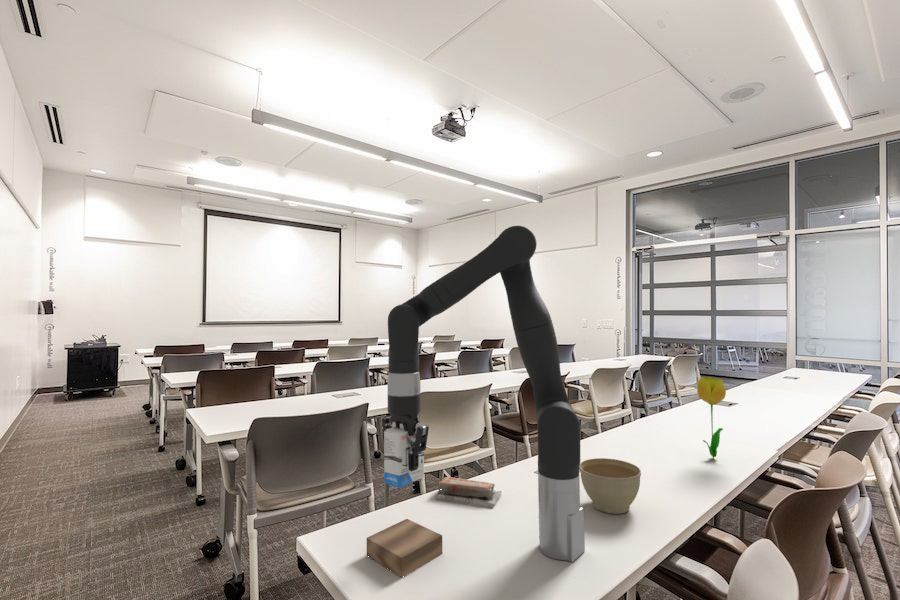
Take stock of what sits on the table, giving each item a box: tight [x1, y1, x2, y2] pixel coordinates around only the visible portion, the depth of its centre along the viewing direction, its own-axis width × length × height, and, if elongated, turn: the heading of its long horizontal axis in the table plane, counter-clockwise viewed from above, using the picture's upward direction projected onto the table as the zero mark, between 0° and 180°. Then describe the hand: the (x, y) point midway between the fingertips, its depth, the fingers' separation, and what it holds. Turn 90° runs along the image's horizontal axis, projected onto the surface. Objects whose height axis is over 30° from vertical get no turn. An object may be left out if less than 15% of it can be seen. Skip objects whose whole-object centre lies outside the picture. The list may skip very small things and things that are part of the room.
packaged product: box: [434, 476, 502, 509], centre depth 125 cm, size 18×5×10 cm
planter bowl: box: [579, 457, 642, 514], centre depth 118 cm, size 16×16×11 cm
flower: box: [696, 376, 727, 460], centre depth 156 cm, size 9×8×30 cm
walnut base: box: [366, 518, 443, 578], centre depth 95 cm, size 12×12×4 cm
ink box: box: [383, 428, 425, 489], centre depth 96 cm, size 9×5×12 cm, turn 142°
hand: (404, 466), depth 96 cm, fingers closed on ink box, 5 cm apart
